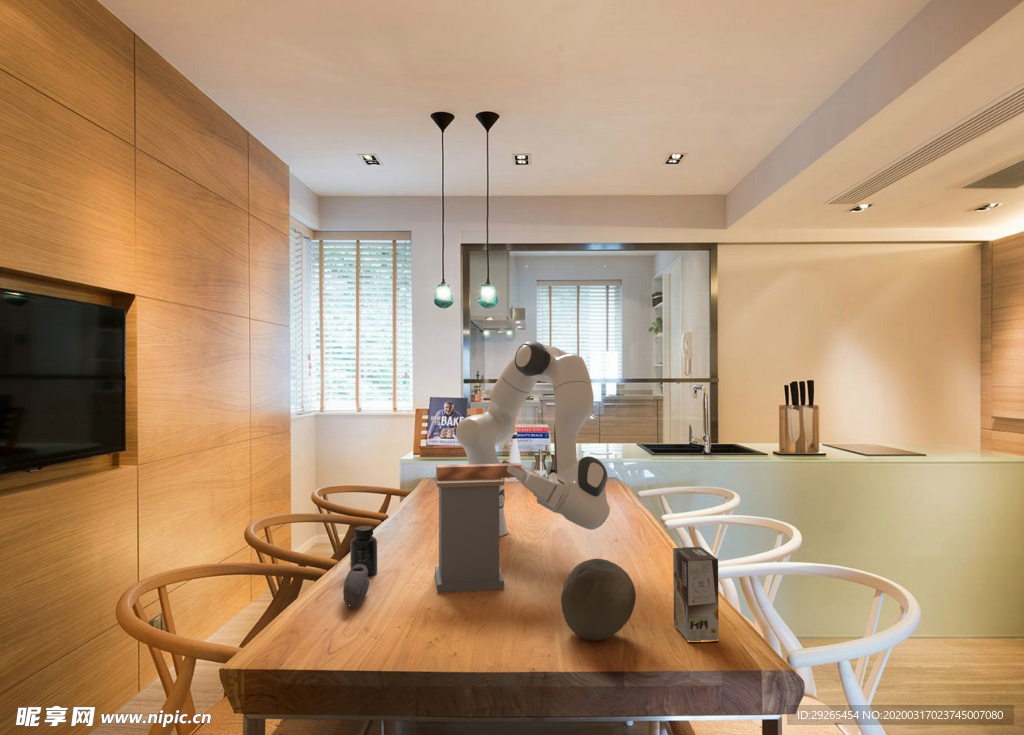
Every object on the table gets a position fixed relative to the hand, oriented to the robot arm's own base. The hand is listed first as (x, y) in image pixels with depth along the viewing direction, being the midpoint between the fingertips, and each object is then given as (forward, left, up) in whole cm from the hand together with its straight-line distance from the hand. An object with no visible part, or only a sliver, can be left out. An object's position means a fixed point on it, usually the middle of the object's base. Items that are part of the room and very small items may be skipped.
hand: (504, 464), depth 158 cm
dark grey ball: (+35, -18, -29) cm, 49 cm away
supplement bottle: (-33, -18, -29) cm, 47 cm away
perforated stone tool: (-18, -33, -29) cm, 47 cm away
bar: (-5, -5, -3) cm, 7 cm away
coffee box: (+50, -5, -29) cm, 58 cm away
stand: (-7, -7, -29) cm, 30 cm away
